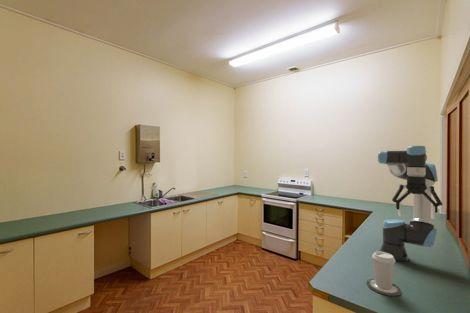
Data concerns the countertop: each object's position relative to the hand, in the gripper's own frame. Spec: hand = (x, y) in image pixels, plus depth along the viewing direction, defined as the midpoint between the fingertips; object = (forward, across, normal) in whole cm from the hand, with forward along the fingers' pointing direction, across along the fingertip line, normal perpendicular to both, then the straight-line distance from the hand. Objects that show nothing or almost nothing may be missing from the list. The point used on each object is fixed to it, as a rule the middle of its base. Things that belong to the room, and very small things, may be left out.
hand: (416, 217), depth 116 cm
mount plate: (+33, -16, -14) cm, 39 cm away
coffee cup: (+32, -16, -14) cm, 38 cm away
